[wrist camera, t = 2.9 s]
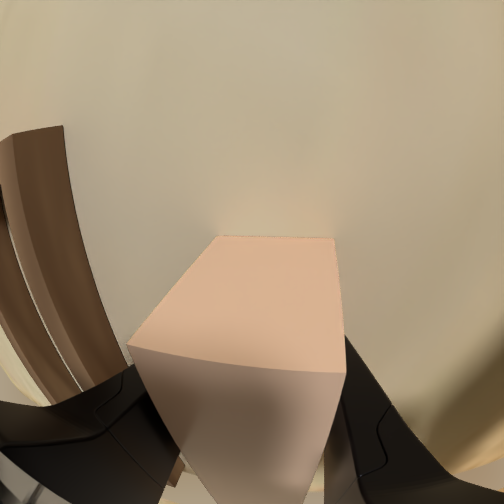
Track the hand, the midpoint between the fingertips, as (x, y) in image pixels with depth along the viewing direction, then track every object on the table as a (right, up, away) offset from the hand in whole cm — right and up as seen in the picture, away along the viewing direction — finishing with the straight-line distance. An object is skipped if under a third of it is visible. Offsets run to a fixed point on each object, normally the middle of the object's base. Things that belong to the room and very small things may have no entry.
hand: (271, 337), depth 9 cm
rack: (-11, -4, +6) cm, 13 cm away
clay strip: (+1, -5, +3) cm, 6 cm away
